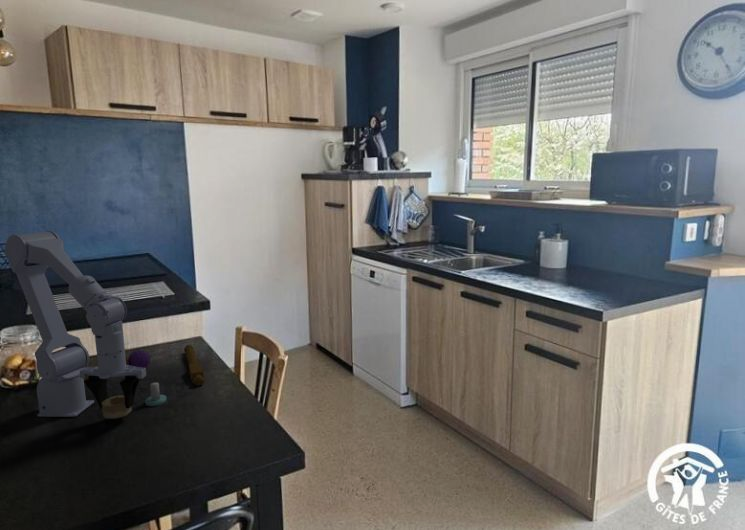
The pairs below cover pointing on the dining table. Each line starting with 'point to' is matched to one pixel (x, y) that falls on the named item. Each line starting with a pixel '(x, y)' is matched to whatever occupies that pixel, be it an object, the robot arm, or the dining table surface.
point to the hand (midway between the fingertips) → (116, 406)
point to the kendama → (136, 360)
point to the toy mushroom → (155, 396)
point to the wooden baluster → (194, 366)
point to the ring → (115, 407)
